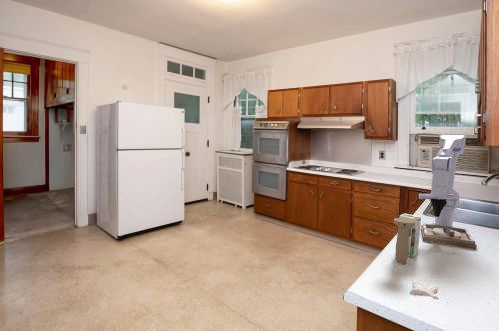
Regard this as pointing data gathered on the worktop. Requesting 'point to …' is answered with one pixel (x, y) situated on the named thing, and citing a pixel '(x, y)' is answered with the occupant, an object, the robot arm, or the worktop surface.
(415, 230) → the syrup box
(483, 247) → the worktop surface
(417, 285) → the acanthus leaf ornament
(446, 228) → the dial
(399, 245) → the handle
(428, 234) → the dial housing
